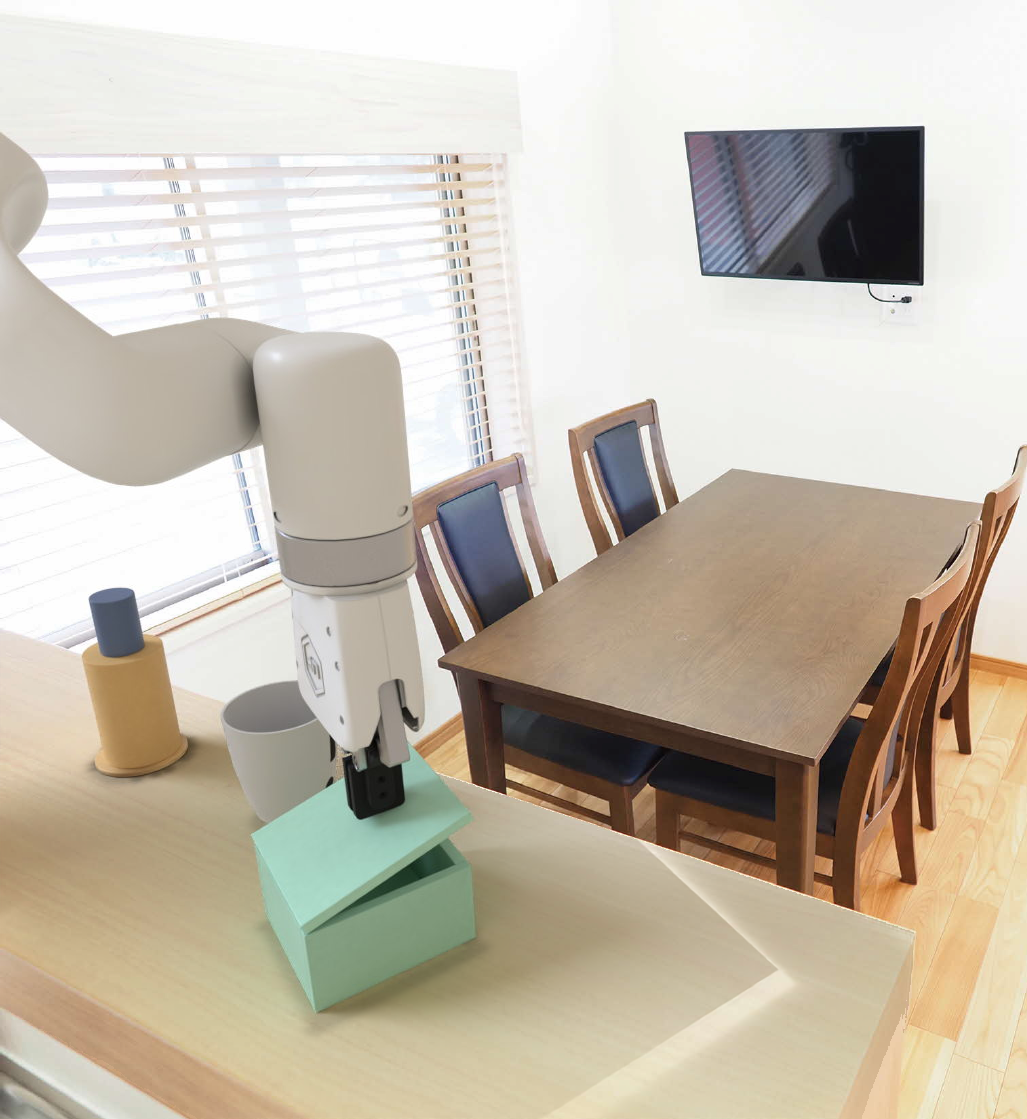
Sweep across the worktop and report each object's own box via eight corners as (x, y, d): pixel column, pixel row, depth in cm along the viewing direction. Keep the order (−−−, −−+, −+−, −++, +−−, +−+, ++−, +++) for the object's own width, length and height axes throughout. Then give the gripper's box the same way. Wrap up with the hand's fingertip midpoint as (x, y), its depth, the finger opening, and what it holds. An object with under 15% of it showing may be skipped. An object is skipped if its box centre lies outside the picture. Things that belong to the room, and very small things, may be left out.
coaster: (102, 787, 79) (101, 783, 79) (89, 748, 84) (88, 745, 84) (196, 759, 83) (195, 755, 83) (178, 724, 88) (177, 721, 88)
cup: (356, 825, 76) (343, 718, 73) (244, 855, 72) (224, 744, 69) (339, 773, 83) (326, 672, 79) (234, 798, 79) (216, 693, 75)
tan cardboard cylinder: (111, 776, 80) (74, 615, 74) (99, 745, 84) (64, 590, 78) (188, 754, 83) (159, 599, 78) (173, 725, 88) (144, 576, 82)
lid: (410, 746, 69) (405, 738, 69) (474, 819, 62) (470, 811, 61) (255, 842, 64) (250, 834, 63) (306, 935, 56) (300, 926, 56)
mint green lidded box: (415, 863, 73) (408, 788, 70) (476, 945, 65) (472, 866, 63) (266, 923, 66) (253, 843, 64) (316, 1022, 59) (304, 937, 56)
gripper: (245, 523, 59) (282, 772, 66) (324, 607, 48) (360, 893, 55) (366, 503, 63) (390, 738, 70) (463, 576, 53) (480, 844, 60)
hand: (377, 806), depth 63 cm, fingers closed
